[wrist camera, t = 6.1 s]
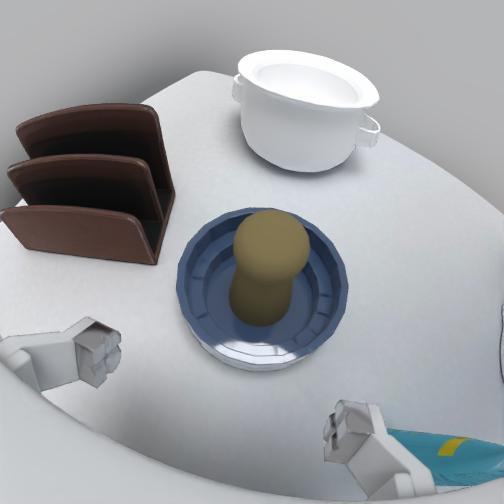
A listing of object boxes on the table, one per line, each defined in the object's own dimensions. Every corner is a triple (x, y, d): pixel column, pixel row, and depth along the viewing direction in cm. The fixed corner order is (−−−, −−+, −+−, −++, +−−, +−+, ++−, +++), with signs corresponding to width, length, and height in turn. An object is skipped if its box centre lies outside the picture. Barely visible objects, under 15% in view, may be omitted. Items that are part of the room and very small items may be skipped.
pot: (199, 148, 38) (193, 72, 28) (257, 100, 46) (263, 40, 36) (345, 213, 34) (381, 136, 23) (373, 146, 42) (397, 86, 31)
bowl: (295, 223, 33) (304, 194, 28) (352, 338, 26) (375, 324, 22) (171, 256, 29) (161, 229, 25) (211, 392, 23) (205, 389, 18)
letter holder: (54, 191, 33) (14, 117, 21) (177, 194, 34) (158, 93, 22) (25, 250, 28) (-33, 179, 16) (157, 266, 29) (114, 166, 17)
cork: (218, 283, 28) (211, 213, 18) (272, 260, 29) (290, 186, 20) (245, 337, 25) (253, 292, 16) (302, 310, 27) (339, 252, 17)
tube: (412, 435, 21) (576, 416, 4) (395, 477, 18) (553, 498, 2) (354, 419, 22) (528, 404, 5) (333, 464, 19) (490, 519, 3)
